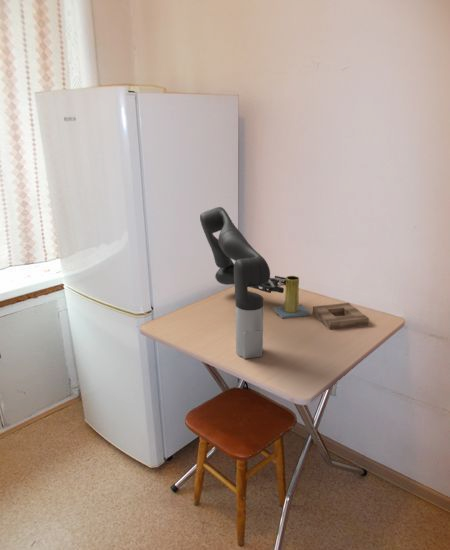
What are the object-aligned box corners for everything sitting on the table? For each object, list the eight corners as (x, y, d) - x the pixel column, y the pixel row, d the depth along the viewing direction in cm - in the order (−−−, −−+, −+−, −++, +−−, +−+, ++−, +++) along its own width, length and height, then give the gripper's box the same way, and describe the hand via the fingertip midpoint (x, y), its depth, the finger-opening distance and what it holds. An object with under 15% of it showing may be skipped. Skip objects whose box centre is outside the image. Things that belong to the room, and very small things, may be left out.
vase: (301, 309, 176) (303, 277, 172) (293, 314, 172) (294, 281, 167) (289, 306, 180) (290, 274, 176) (281, 310, 176) (281, 278, 171)
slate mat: (309, 315, 173) (310, 313, 173) (282, 318, 171) (282, 316, 170) (300, 306, 182) (300, 304, 182) (274, 309, 180) (274, 306, 180)
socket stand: (368, 325, 164) (368, 318, 163) (329, 329, 160) (330, 322, 159) (348, 309, 178) (348, 302, 177) (312, 313, 175) (312, 306, 174)
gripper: (246, 276, 177) (279, 283, 168) (264, 267, 188) (297, 274, 178) (246, 292, 180) (279, 301, 170) (264, 283, 190) (296, 291, 181)
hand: (288, 287), depth 174 cm, fingers open, 8 cm apart
